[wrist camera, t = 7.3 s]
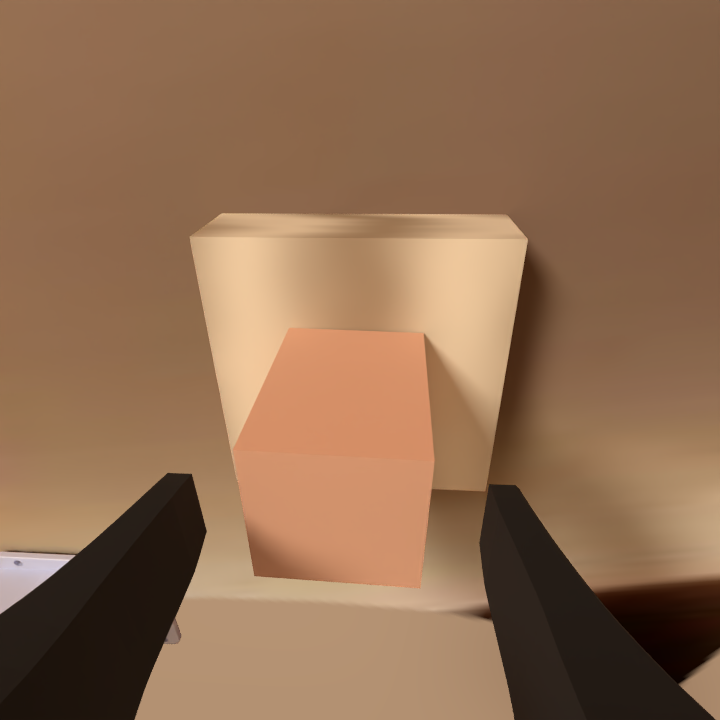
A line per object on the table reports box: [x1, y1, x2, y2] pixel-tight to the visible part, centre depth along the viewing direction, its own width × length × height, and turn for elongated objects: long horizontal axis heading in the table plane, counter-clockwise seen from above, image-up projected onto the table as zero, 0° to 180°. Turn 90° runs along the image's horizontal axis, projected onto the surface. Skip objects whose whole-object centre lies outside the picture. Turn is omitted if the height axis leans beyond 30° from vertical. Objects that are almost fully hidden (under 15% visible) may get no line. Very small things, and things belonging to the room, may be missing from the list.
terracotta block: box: [233, 328, 435, 588], centre depth 14 cm, size 4×4×6 cm
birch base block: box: [190, 214, 528, 491], centre depth 18 cm, size 10×10×4 cm
